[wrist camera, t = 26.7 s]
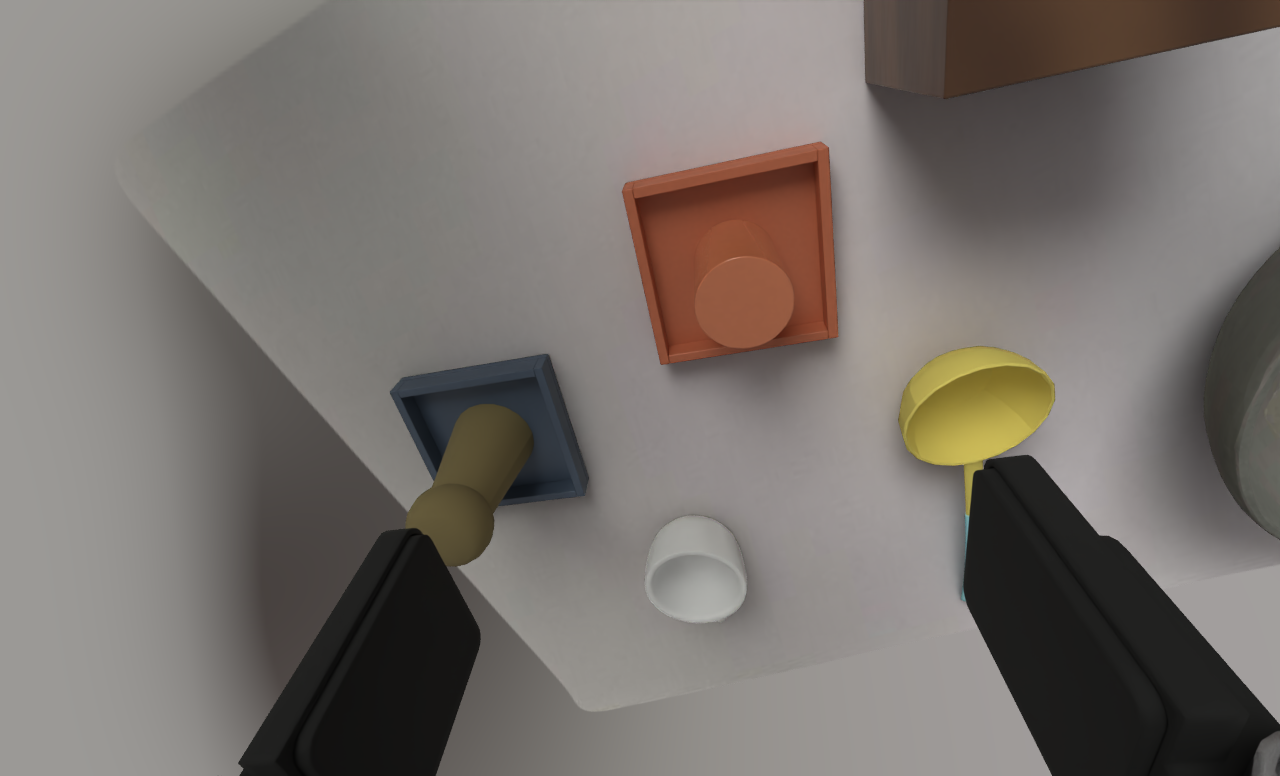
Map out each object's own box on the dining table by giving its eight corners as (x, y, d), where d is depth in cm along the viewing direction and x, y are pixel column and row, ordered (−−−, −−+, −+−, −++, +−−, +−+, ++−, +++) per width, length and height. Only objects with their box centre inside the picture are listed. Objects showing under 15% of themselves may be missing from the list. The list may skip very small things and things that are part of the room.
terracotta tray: (661, 350, 39) (660, 365, 38) (625, 182, 34) (621, 190, 32) (831, 323, 38) (838, 337, 36) (821, 141, 32) (829, 146, 30)
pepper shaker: (456, 463, 45) (394, 574, 36) (452, 398, 42) (383, 500, 32) (533, 474, 45) (491, 588, 36) (534, 409, 42) (489, 515, 32)
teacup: (632, 516, 47) (626, 567, 43) (721, 489, 45) (725, 539, 41) (680, 594, 52) (679, 648, 47) (763, 573, 50) (771, 628, 45)
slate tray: (458, 494, 47) (449, 512, 46) (401, 377, 42) (389, 392, 40) (589, 478, 46) (585, 496, 44) (548, 353, 40) (541, 367, 38)
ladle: (1022, 299, 35) (1081, 360, 31) (993, 533, 52) (1028, 593, 48) (873, 341, 37) (909, 404, 32) (892, 554, 54) (917, 614, 49)
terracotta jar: (700, 305, 37) (702, 355, 31) (686, 228, 34) (686, 266, 28) (780, 291, 36) (798, 340, 30) (771, 211, 34) (790, 247, 28)
